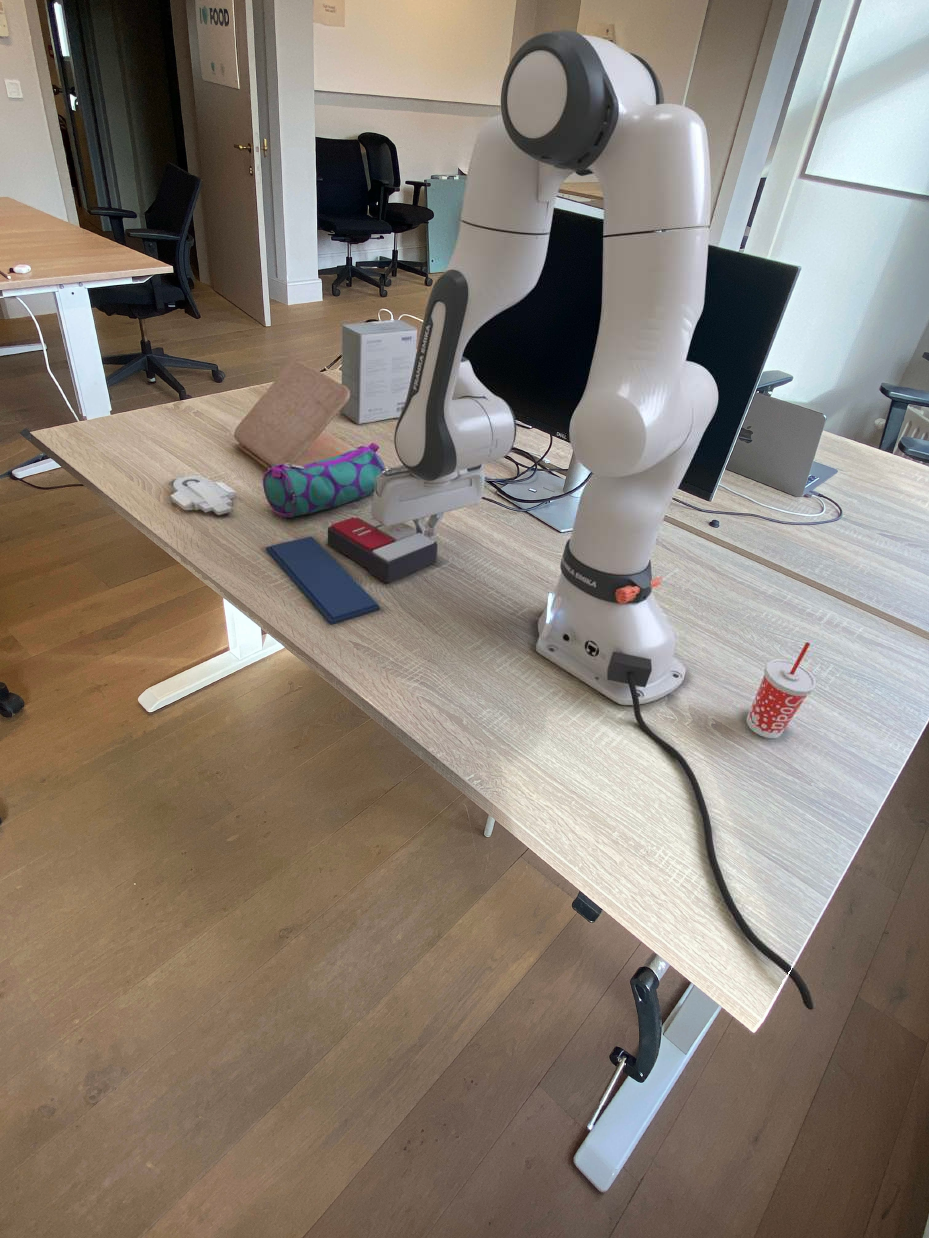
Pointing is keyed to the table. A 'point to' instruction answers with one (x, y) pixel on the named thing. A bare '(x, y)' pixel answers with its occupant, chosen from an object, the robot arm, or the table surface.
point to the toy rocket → (202, 494)
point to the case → (295, 419)
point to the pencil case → (322, 482)
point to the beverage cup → (780, 695)
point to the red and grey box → (383, 546)
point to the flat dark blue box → (322, 580)
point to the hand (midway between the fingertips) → (425, 535)
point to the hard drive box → (377, 368)
